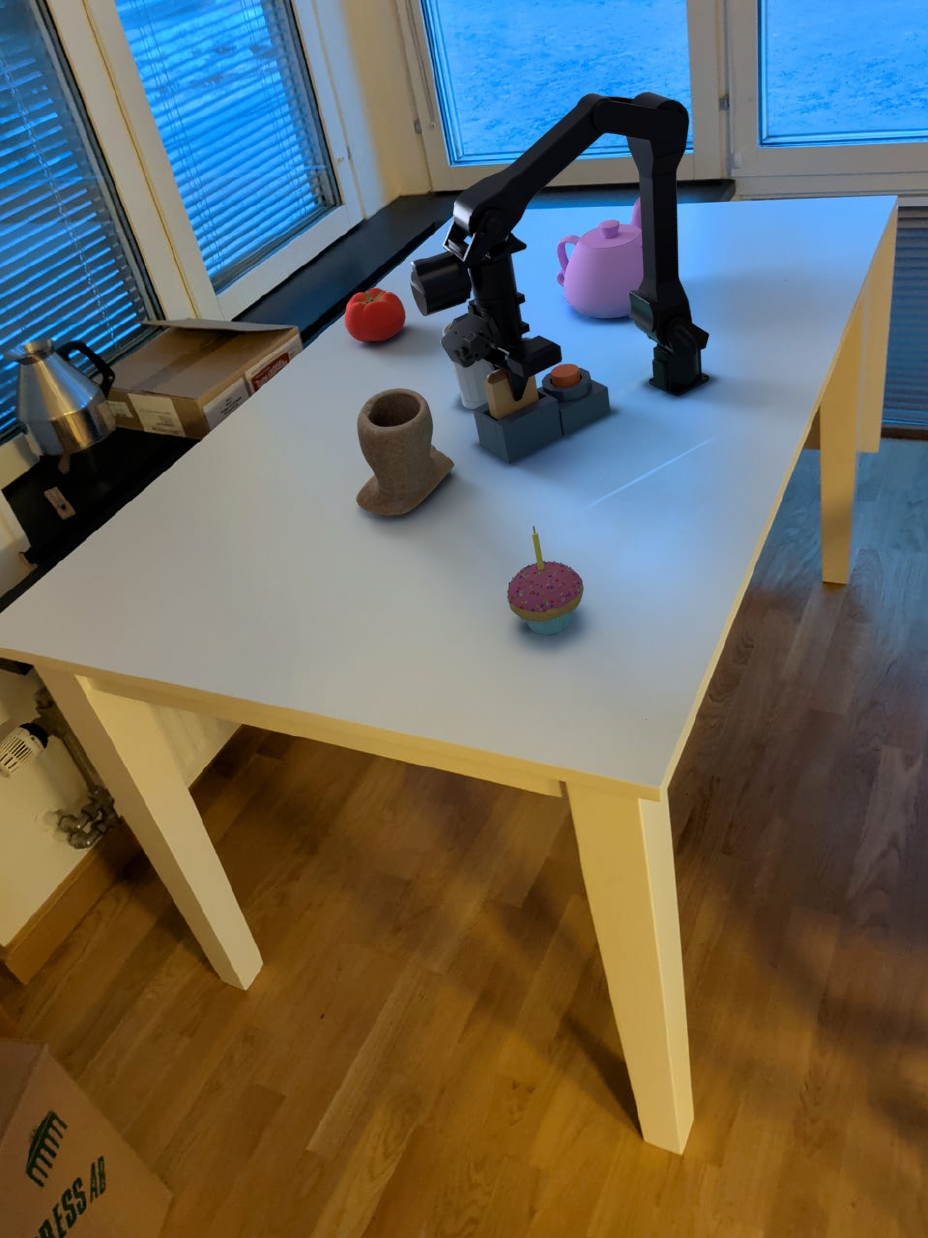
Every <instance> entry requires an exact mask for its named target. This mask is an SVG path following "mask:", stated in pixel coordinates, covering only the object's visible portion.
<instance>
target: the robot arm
mask: <svg viewBox="0 0 928 1238" xmlns="http://www.w3.org/2000/svg"><path fill="white" fill-rule="evenodd" d="M689 129H690V115H689V110H688V109H687V108H686V107H685V106H684V104H683V103H681V102H680V101H678V100H675V99H673V98H669V97H667V96H663V95H660V94H657V93H654V92H650V91H643V92H640V93H639V94H636V96H635V97H626V96H617V95H616V96H615V95H614V96H613V95H601V94H599V93H595V92H589V93H587V94H585V95H583V96H581V98H580V99H579V100H578V102H577V104H576V105H575V106H574V107H573V108H572V109H570V110H569V111H568V112H567V113H566V114H565V115H564V116H563V117H561V119H559V120H558V121H557V123H555V124H554V125H553V126H552V127H551V128H550V129H549V130H548V131H547V132H545V133H544V134H543V135H542V136H541V137H540V138H539V139H538V140H537V141H535V142H534V143H533V144H532V145H531V146H530V147H529V148H528V149H526V150H525V151H524V152H523V153H521V155H520V156H519V157H517V159H515V161H513V162H512V163H511V164H510V165H509V166H507V167H505V168H504V169H502V170H501V171H499V172H496V173H493V174H490V175H488V176H486V177H482V179H480V180H479V181H477V182H476V183H474V184H472V185H471V186H469V187H467V188H466V189H464V190H463V191H462V192H460V194H459V195H458V196H457V197H456V199H455V201H454V203H453V211H452V212H453V218H452V221H451V223H450V226H449V228H448V230H447V233H446V236H445V238H444V240H443V242H442V248H443V249H444V250H445V252H441V253H439V254H436V255H432V256H429V257H426V258H418V259H414V260H412V261H411V262H410V264H411V269H412V270H411V273H410V282H409V285H410V289H411V293H412V297H413V299H414V302H415V304H416V306H417V309H418V311H419V312H420V314H421V315H422V316H423V317H428V316H431V315H434V314H436V313H437V314H438V313H439V312H443V311H445V310H448V309H451V308H455V307H458V306H460V305H463V304H465V303H467V301H468V300H469V299H471V298H472V296H473V299H471V300H469V301H468V305H467V312H466V313H463V314H461V315H459V316H457V317H455V318H453V319H452V320H451V321H452V323H451V325H450V327H449V329H450V331H449V332H448V333H447V334H446V335H445V336H442V338H441V339H440V341H439V343H440V345H441V347H442V349H443V350H444V351H445V353H446V354H447V356H448V358H449V359H451V360H450V362H451V361H453V362H456V363H458V364H460V365H461V366H462V367H464V368H468V367H470V366H472V365H473V364H474V363H475V361H480V360H481V359H484V360H485V361H486V362H487V363H488V365H489V367H490V369H491V370H492V372H494V371H496V370H498V369H500V368H501V369H503V370H504V371H505V373H506V376H507V380H508V383H509V386H510V390H511V393H512V396H513V398H514V401H519V400H521V399H522V397H523V394H524V391H525V388H526V385H527V382H528V379H529V377H531V376H533V375H535V376H536V375H538V374H540V373H542V372H543V371H544V372H545V371H546V370H548V369H549V368H552V367H555V365H556V366H557V365H559V364H560V363H562V362H563V353H562V345H559V344H558V343H557V342H554V341H552V340H550V339H548V338H546V337H544V336H541V335H539V334H538V335H536V336H534V337H527V336H525V337H523V335H525V334H527V333H529V332H531V329H530V328H531V327H530V324H529V323H528V322H526V321H523V318H522V312H521V306H520V305H523V304H524V303H526V296H525V294H524V293H522V292H520V291H518V287H517V281H516V274H515V267H514V261H513V255H512V254H517V253H519V252H522V251H526V249H528V248H527V247H528V245H527V243H525V242H524V241H522V240H521V239H519V238H518V237H517V236H515V234H514V233H513V232H512V231H513V230H514V229H515V227H516V226H517V225H518V224H519V223H520V222H521V220H522V218H523V217H524V214H525V212H526V210H527V208H528V206H529V204H530V202H531V201H532V200H533V199H534V197H536V195H538V194H539V193H540V192H541V191H542V190H543V189H544V188H546V186H548V185H549V183H551V182H552V181H553V180H554V179H556V178H557V176H559V174H561V173H562V172H563V171H564V170H565V169H567V167H569V165H571V164H572V163H573V162H574V161H575V160H576V159H578V158H579V157H580V156H581V155H582V154H583V153H584V152H585V151H587V150H588V149H589V148H590V147H591V146H592V145H593V144H594V143H596V141H598V140H599V139H600V138H601V137H602V136H603V135H606V134H610V135H611V134H612V135H617V136H623V137H626V138H625V139H626V143H627V147H628V150H629V153H630V155H631V157H632V159H633V161H634V164H635V166H636V168H637V171H638V177H639V179H638V182H639V197H640V206H641V229H642V252H643V280H642V282H641V284H640V287H639V289H638V290H632V291H630V292H629V298H630V302H631V311H630V315H628V318H630V319H631V320H633V322H634V325H635V327H636V328H637V329H638V330H640V331H641V332H642V333H644V334H646V337H647V338H648V339H649V340H651V341H653V342H655V343H656V346H654V347H652V351H653V358H652V360H651V365H652V366H651V367H652V376H653V377H651V378H650V379H648V384H649V385H651V386H653V387H656V388H658V389H660V390H662V391H664V392H666V393H668V394H671V395H673V396H676V397H679V396H681V395H683V394H684V393H686V392H689V391H691V390H692V389H695V388H696V387H698V386H700V385H702V384H704V383H706V382H707V381H709V380H710V375H709V374H706V373H704V372H703V369H702V350H705V349H706V348H707V346H708V342H709V338H710V333H709V332H707V331H706V330H704V329H703V328H702V327H700V326H698V325H696V324H695V323H694V322H693V316H692V311H691V305H690V301H689V297H688V295H687V293H686V290H685V288H684V286H683V284H682V281H681V279H680V272H679V271H680V269H679V265H680V263H679V225H678V223H679V222H678V220H679V219H678V218H679V217H678V181H677V173H678V168H679V166H680V163H681V161H682V158H683V157H684V154H685V152H686V151H687V150H686V149H687V143H688V137H689V136H688V135H689ZM467 237H469V238H470V239H471V240H470V242H469V243H468V242H467V241H465V240H466V239H467ZM472 294H473V295H472Z"/></svg>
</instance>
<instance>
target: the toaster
mask: <svg viewBox="0 0 928 1238" xmlns="http://www.w3.org/2000/svg"><path fill="white" fill-rule="evenodd" d="M537 391H538V398H539V400H538V401H536V402H534V403H532V404H530V405H528V406H526V407H524V408H522V409H520V410H518V411H516V412H514V413H512V414H510V415H508V416H506V417H504V418H502V419H500V420H497V419H496V418H494V417H492V416H491V415H490V409H489V404H488V402H487V403H485V404H483V405H481V406H479V407H477V408H475V409H472V411H473V416H474V422H475V427H476V432H477V437H478V441H479V445H480V447H482V448H484V449H485V450H486V451H488V452H490V453H491V454H493V455H494V456H496V457H497V458H499V459H500V460H502V461H504V462H506V463H507V464H511V463H513V462H516V461H517V460H519V459H521V458H523V457H525V456H527V455H530V454H531V453H532V452H535V451H537V450H539V449H541V448H542V447H544V446H546V445H549V444H550V443H552V442H554V441H557V440H558V439H560V438H562V437H563V435H562V429H561V422H560V415H559V408H558V401H557V399H556V398H554V397H552V396H550V395H548V394H547V393H545V392H543V391H541V390H539V389H538V388H537Z"/></svg>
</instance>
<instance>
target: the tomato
mask: <svg viewBox="0 0 928 1238" xmlns="http://www.w3.org/2000/svg"><path fill="white" fill-rule="evenodd" d="M344 313H345V314H344V317H343V320H344V326H345V328H346V330H347V333H349V335H350V336H351V337H352V338H353V339H355V340H357V341H358V342H363V343H371V342H384V341H386V340H388V339H390V338H392V337H393V336H394V335H396V334H397V333H399V332H400V331H401V330H402V329H403V327H404V325H405V322H406V318H407V317H406V309H405V307H404V304H403V302H402V300H401V299H400V298H399V296H398V295H397V294H395V293H394V292H393V291H388V289H386V290H384V289H382V288H379V287H372V288H370V289H368V290H365V292H362V291H360V292H357V293H355V294H354V295H352V297H351V298H350V299H349V301H348V302H347V304H346V307H345V312H344Z"/></svg>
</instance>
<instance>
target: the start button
mask: <svg viewBox="0 0 928 1238" xmlns="http://www.w3.org/2000/svg"><path fill="white" fill-rule="evenodd" d="M579 368H580V367H579V366H578V365H576V364H574V363H562V364H557V365H556V366H553V368H551V370H550V372H551V378H552V384H553V385H554V386H556V387H568V386H572V385H574V384H576V383H578V382H579V381H580V373H579Z"/></svg>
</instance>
